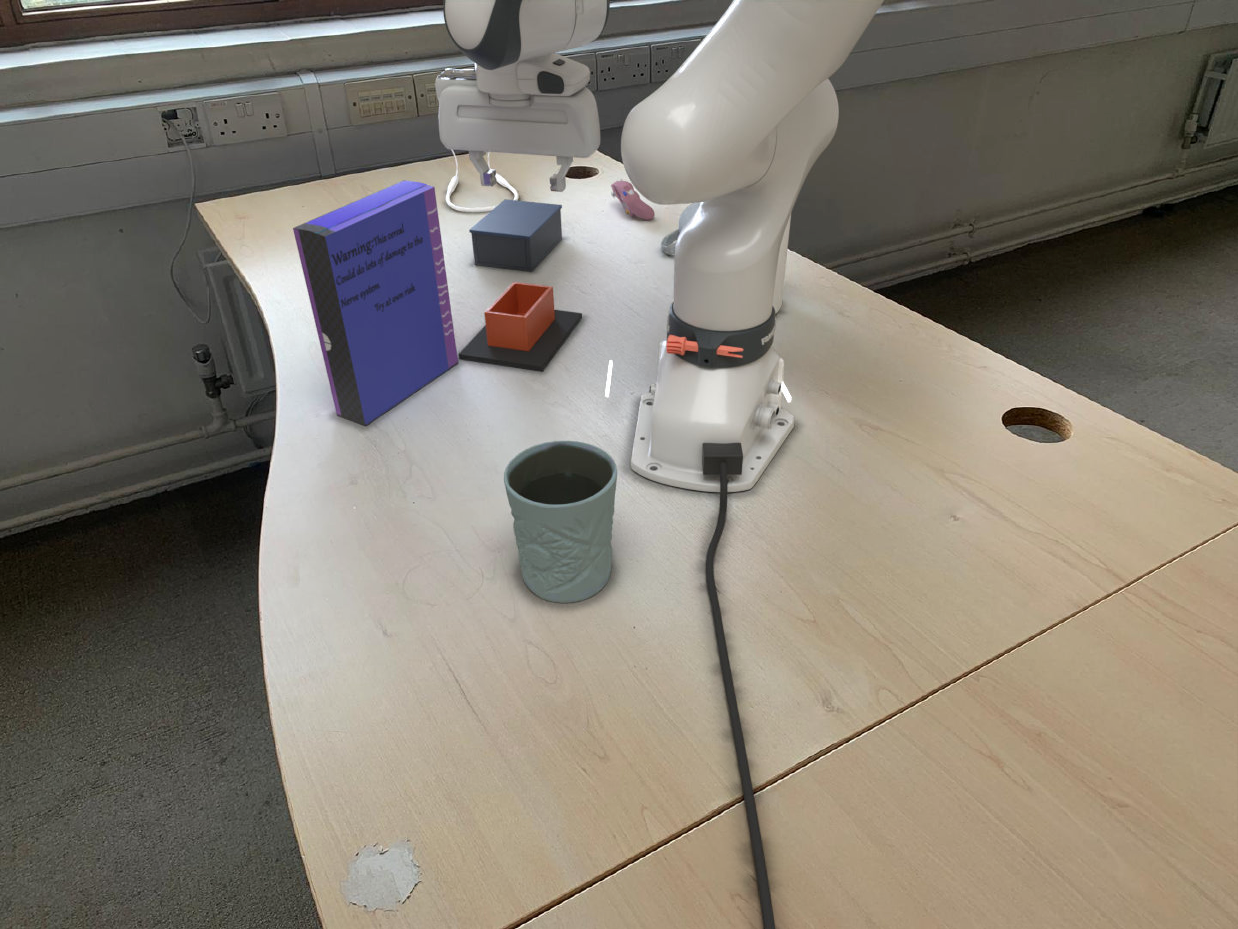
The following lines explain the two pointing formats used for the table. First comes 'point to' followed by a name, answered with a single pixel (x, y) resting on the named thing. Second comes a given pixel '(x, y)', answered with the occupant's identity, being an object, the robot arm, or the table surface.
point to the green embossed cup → (563, 518)
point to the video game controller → (631, 200)
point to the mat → (524, 359)
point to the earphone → (452, 188)
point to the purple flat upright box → (379, 298)
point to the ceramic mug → (674, 235)
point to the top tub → (520, 316)
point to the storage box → (517, 235)
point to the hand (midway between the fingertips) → (523, 187)
